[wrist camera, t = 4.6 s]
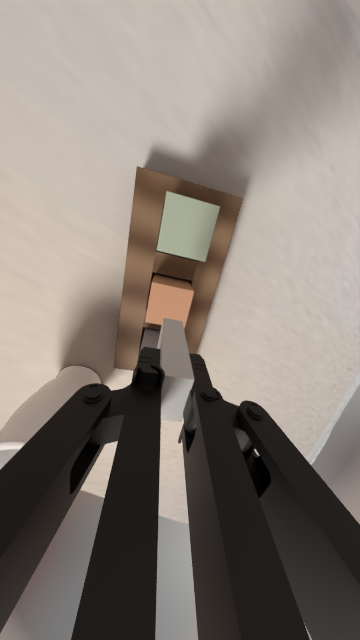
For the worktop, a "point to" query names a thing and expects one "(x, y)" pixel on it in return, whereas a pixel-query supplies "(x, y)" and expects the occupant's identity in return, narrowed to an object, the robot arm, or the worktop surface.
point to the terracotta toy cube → (169, 299)
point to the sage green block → (187, 226)
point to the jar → (42, 408)
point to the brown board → (168, 260)
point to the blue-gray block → (150, 338)
